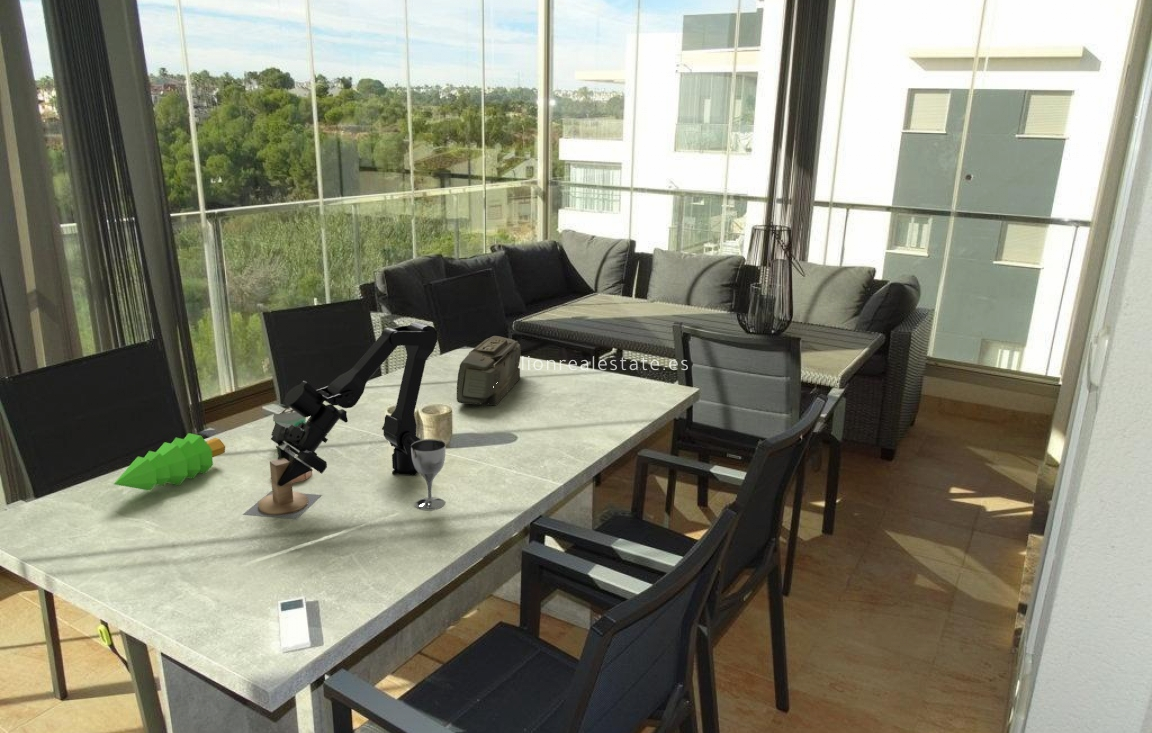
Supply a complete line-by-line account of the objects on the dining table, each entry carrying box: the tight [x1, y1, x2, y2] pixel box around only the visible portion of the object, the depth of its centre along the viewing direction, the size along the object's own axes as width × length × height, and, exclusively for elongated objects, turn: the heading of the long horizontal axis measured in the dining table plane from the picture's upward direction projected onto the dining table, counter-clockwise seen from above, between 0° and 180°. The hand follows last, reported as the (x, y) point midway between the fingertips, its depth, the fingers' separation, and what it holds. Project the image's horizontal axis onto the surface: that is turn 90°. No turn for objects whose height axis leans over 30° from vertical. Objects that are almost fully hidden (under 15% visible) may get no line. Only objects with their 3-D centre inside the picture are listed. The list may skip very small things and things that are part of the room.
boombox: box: [456, 335, 522, 406], centre depth 274 cm, size 44×17×20 cm, turn 168°
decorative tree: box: [113, 433, 226, 491], centre depth 195 cm, size 11×12×30 cm
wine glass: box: [411, 438, 447, 511], centre depth 187 cm, size 8×8×15 cm
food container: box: [272, 407, 307, 447], centre depth 225 cm, size 12×6×10 cm, turn 168°
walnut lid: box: [258, 458, 308, 515], centre depth 184 cm, size 11×11×11 cm
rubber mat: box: [242, 490, 323, 520], centre depth 186 cm, size 13×13×1 cm
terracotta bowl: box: [292, 467, 313, 484], centre depth 202 cm, size 9×9×3 cm
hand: (275, 482), depth 183 cm, fingers closed on walnut lid, 3 cm apart
